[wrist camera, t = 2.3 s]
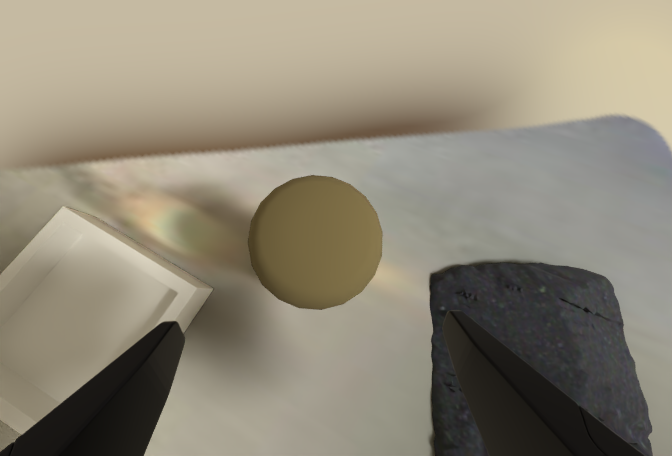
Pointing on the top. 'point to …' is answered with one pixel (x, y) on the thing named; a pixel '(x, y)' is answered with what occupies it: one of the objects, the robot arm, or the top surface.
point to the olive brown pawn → (315, 242)
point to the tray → (80, 310)
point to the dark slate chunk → (539, 345)
